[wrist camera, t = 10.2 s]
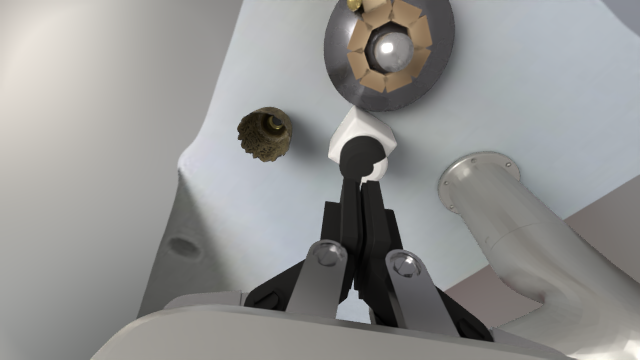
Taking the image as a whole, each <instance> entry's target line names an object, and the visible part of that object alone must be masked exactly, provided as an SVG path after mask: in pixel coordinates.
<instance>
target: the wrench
mask: <svg viewBox="0 0 640 360" xmlns="http://www.w3.org/2000/svg"><path fill="white" fill-rule="evenodd" d="M362 6H363V9H364V13H363V14H362V17H363V21H361V20H359V19H357V22H356V25H355V27H354V30H353V33H352V35H351V38H350V41H349V44H348V46H347V49H349V50H351V52H349V53H347V57H348V59H349V62H350V65H351V67H352V70H353V73H354V76H355V78H356V80H357V79H359V78H361V79H360V81H359V82H360V84H362V85H364V86H366V87H369V88H371V89H374V90H376V91H379V92H381V93H382V92H383V90H384V88H385V89H386V91H387V93H388V92H390V91H393V90H395V89H397V88H400V87H402V86H404V85H407V84H409V83H411V82H412V79H411V76H413V77H416V78H417V77H418V75H419V73H420V71H421V69H422V67H423V65H424V64H425V62H426V60H427V58H428V56H429V54H430V53H431V51H430V50H428V49H426V47H428V46H430V45H432V40H431V35H430V31H429V26H428V22H427V17H426V15H423V16H420V14H421V12H422V10H421V9H419V8H417V7H415V6H413V5H410V4H408V3H406V2H404V1H402V0H394V1H393V3H392V5H391V1H390V0H362ZM419 16H420V17H419ZM389 21H391V22H393V23H395V24H398V25H400V26H402V27H405V28H406V29H407V33H408V37H409V38H410V39H411V40H412V42H413V46H414V53H413V57H412V59H411V61H410V63H409V64H408V65H407V66H406V67H405V68H404V69H402V70H400V71H398V72H389V73H387V74H383V73H380V72H378V71H375V70H373V69H371V68H369V66H368V63H367V60H366V57H365V54H364V49H365V46H366V44H367V41H368V39H369V36H370V34H371V31H372V30H373V29H375V28H377V27H379V26H381V25H383V24H385V23H387V22H389ZM410 75H411V76H410Z"/></svg>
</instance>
